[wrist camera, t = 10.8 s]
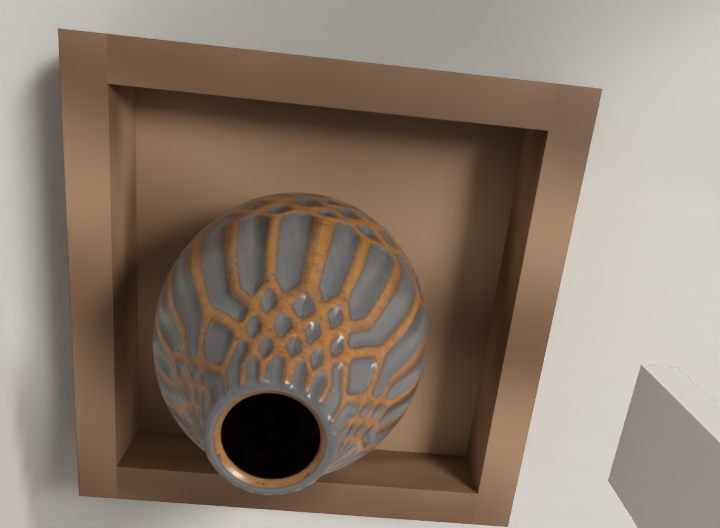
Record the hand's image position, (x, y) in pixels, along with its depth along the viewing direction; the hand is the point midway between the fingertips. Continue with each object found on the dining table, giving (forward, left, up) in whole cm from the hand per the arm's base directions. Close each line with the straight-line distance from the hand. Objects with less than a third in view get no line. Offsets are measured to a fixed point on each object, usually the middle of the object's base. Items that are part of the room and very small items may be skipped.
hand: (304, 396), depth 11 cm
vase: (0, -1, -8) cm, 8 cm away
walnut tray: (0, 0, -8) cm, 8 cm away
